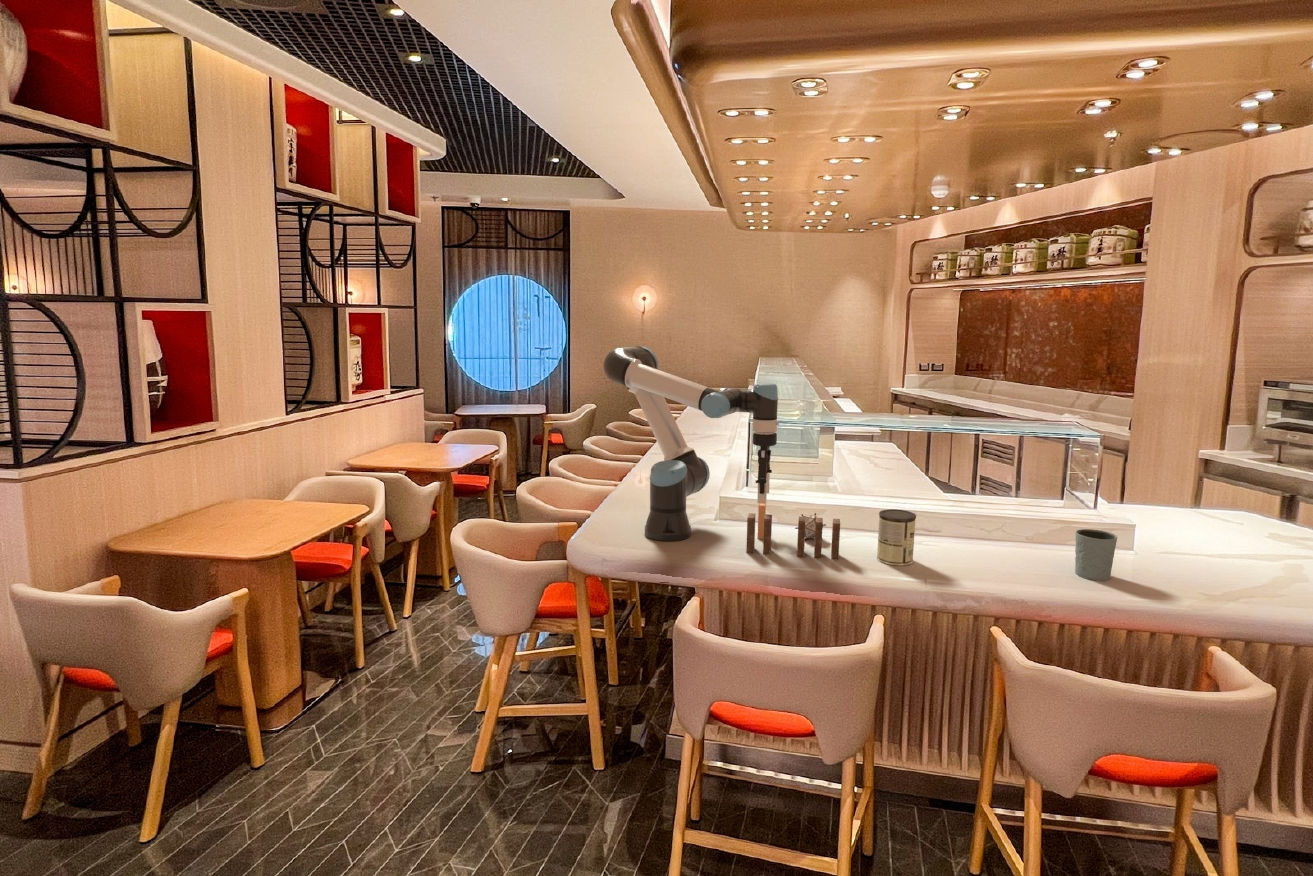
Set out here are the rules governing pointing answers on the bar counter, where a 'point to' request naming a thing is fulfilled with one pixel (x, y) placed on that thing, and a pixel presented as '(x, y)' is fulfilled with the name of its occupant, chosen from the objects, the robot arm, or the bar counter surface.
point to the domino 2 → (761, 520)
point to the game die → (810, 526)
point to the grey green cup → (1094, 554)
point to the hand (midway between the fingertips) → (763, 498)
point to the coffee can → (896, 537)
